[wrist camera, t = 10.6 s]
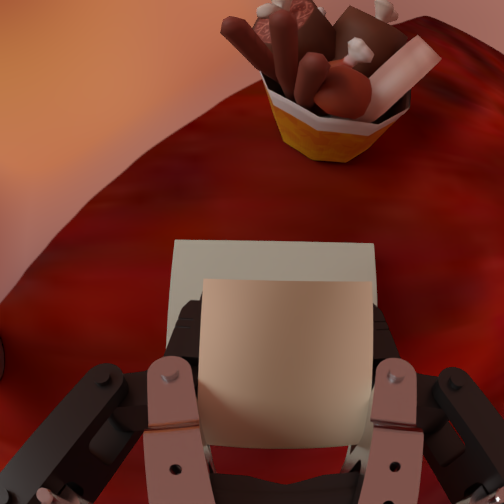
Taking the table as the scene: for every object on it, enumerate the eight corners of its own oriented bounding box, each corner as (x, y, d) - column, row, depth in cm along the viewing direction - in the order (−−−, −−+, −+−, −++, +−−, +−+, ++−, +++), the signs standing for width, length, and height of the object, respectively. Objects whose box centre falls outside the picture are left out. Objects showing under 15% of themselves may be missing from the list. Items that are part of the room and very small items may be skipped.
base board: (177, 425, 25) (165, 437, 21) (186, 252, 30) (174, 239, 26) (358, 429, 24) (371, 441, 20) (361, 255, 29) (373, 243, 25)
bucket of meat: (316, 69, 38) (330, -45, 19) (409, 131, 34) (467, 18, 15) (215, 139, 34) (180, -6, 15) (321, 226, 30) (383, 77, 11)
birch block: (231, 393, 14) (197, 443, 6) (235, 309, 15) (203, 278, 8) (318, 394, 14) (366, 443, 6) (320, 310, 15) (371, 281, 8)
